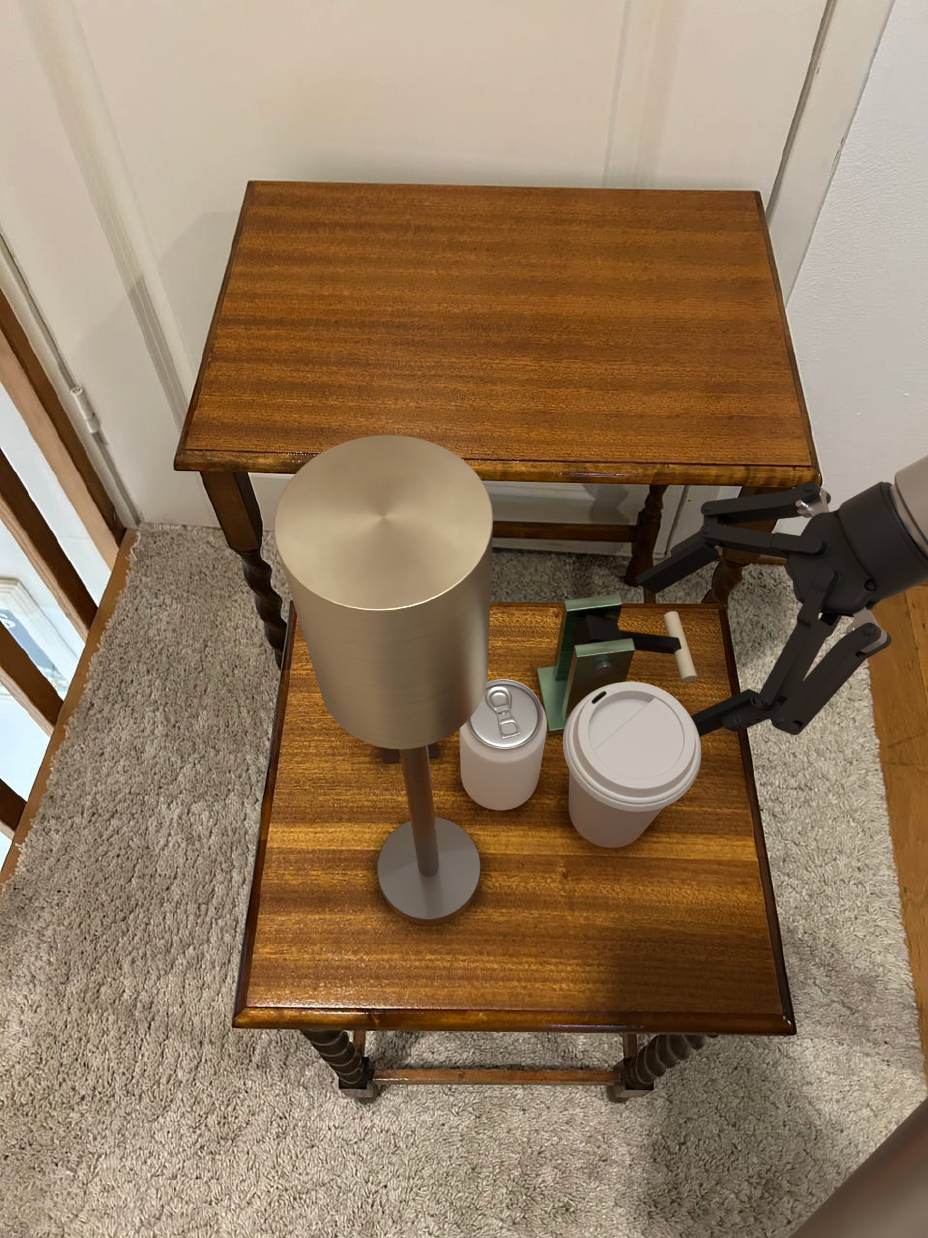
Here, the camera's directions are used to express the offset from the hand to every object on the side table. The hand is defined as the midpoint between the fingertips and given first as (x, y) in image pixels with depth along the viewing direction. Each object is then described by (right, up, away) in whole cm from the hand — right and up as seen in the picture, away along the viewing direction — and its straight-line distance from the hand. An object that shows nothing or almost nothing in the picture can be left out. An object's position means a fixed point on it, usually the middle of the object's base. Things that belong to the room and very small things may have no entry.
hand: (664, 655), depth 76 cm
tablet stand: (-21, -6, +4) cm, 22 cm away
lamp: (-19, -17, -3) cm, 26 cm away
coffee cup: (-5, -13, 0) cm, 13 cm away
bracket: (-6, -4, +5) cm, 9 cm away
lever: (-4, +1, -2) cm, 4 cm away
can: (-14, -10, +1) cm, 17 cm away
